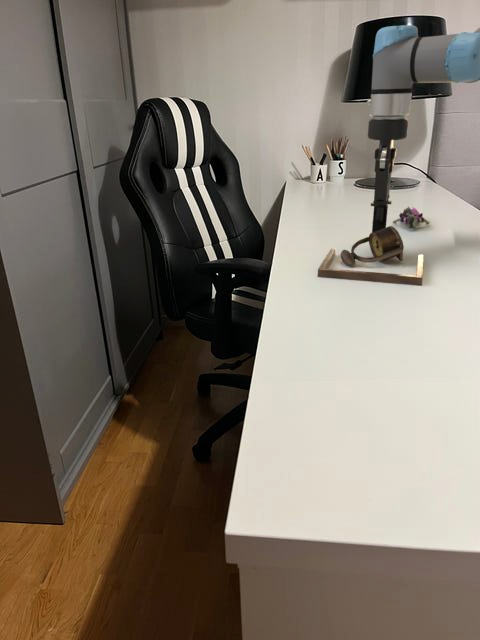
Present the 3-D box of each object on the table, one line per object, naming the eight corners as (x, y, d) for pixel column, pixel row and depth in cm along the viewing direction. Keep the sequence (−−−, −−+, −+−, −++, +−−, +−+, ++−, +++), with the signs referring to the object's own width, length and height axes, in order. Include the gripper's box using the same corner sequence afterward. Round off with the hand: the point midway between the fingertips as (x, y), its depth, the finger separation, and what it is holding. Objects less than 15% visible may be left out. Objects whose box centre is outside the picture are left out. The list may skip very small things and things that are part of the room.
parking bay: (422, 261, 103) (423, 254, 102) (421, 285, 91) (422, 277, 90) (330, 255, 109) (330, 248, 108) (317, 276, 96) (317, 269, 96)
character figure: (391, 218, 140) (393, 230, 126) (392, 204, 139) (394, 214, 124) (426, 219, 138) (432, 231, 124) (428, 205, 137) (434, 216, 122)
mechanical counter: (412, 244, 96) (406, 220, 104) (345, 237, 97) (344, 214, 105) (403, 275, 100) (398, 251, 108) (339, 268, 101) (338, 245, 109)
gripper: (372, 116, 104) (364, 227, 114) (365, 119, 93) (356, 242, 103) (410, 115, 102) (398, 229, 112) (407, 119, 91) (394, 245, 101)
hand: (378, 235), depth 107 cm, fingers closed
